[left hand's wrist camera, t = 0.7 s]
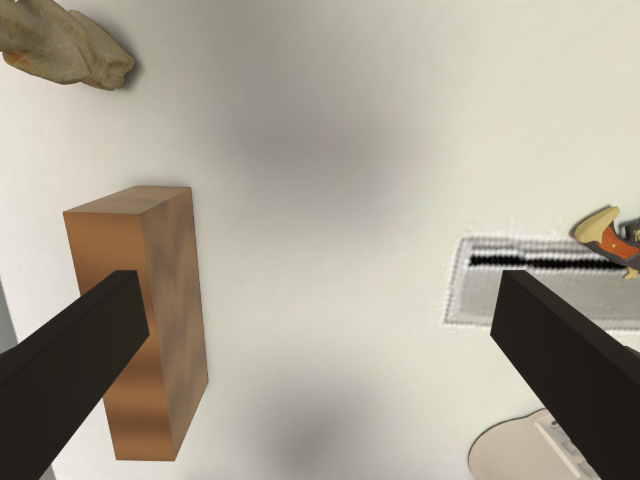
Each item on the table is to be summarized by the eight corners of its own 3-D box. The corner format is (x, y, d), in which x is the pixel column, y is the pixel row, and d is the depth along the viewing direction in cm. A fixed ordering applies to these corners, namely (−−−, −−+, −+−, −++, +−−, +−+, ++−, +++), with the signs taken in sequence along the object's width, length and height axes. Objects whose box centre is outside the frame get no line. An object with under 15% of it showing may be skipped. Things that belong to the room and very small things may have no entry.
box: (135, 185, 39) (61, 211, 28) (191, 187, 39) (139, 214, 28) (163, 380, 48) (115, 460, 36) (208, 382, 48) (174, 461, 36)
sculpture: (87, 3, 33) (-89, -88, 19) (151, 59, 34) (34, 16, 20) (57, 53, 34) (-128, 5, 20) (120, 106, 36) (-10, 96, 22)
